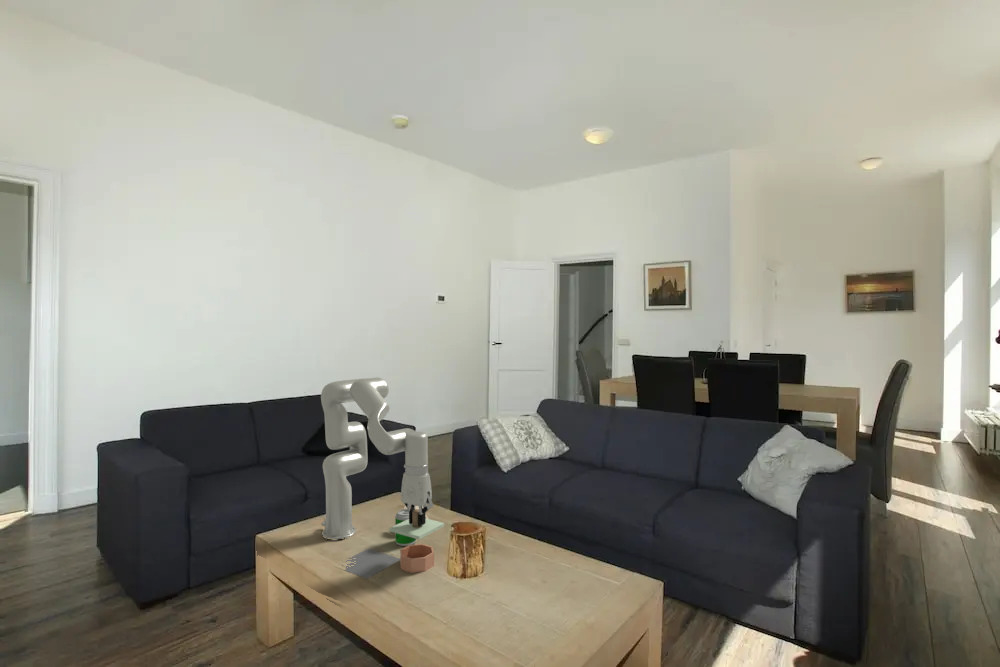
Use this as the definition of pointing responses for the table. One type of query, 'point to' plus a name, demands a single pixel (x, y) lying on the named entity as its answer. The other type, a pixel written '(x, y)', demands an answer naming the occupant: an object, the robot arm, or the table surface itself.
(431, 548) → the bowl
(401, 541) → the soda can
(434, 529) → the lid
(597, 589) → the table surface
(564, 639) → the table surface
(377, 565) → the mat
